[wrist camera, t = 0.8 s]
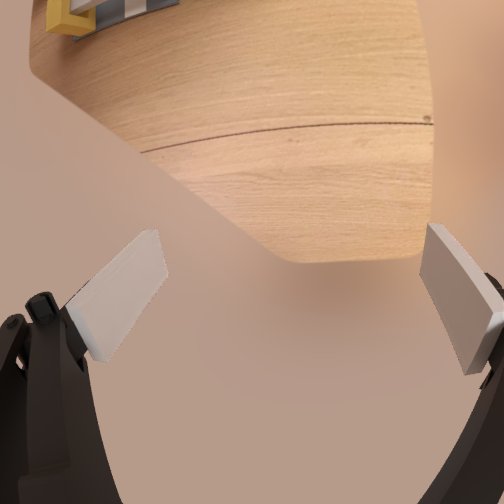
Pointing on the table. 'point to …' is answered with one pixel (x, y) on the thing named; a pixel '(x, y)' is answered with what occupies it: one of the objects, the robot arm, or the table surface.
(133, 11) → the rail
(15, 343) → the robot arm
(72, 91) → the table surface
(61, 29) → the collar
